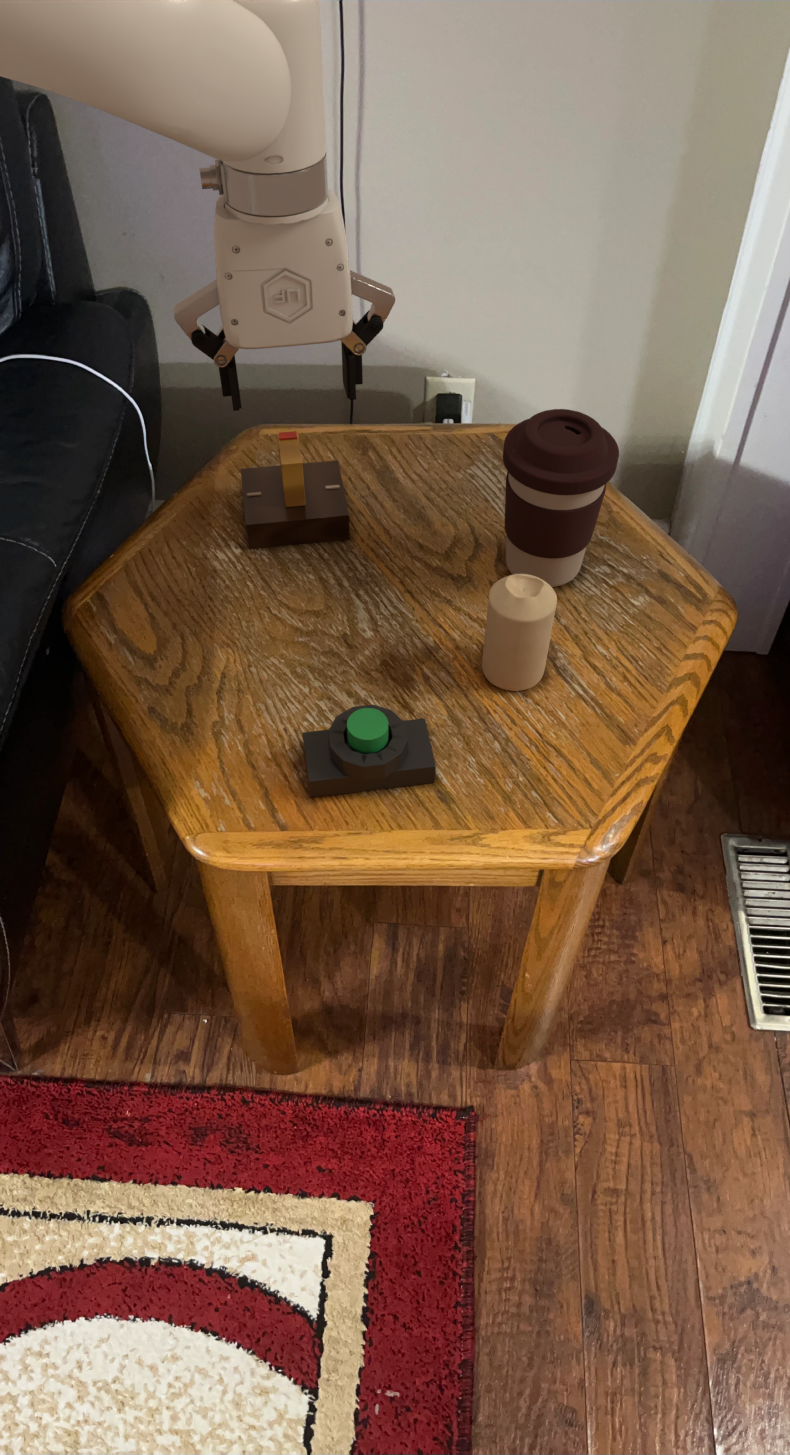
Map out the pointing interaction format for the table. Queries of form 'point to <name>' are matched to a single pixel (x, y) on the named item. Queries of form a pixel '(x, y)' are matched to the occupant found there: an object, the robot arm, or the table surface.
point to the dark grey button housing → (368, 757)
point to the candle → (518, 631)
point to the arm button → (367, 730)
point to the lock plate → (298, 523)
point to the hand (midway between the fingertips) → (293, 396)
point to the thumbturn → (291, 469)
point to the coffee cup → (554, 491)
